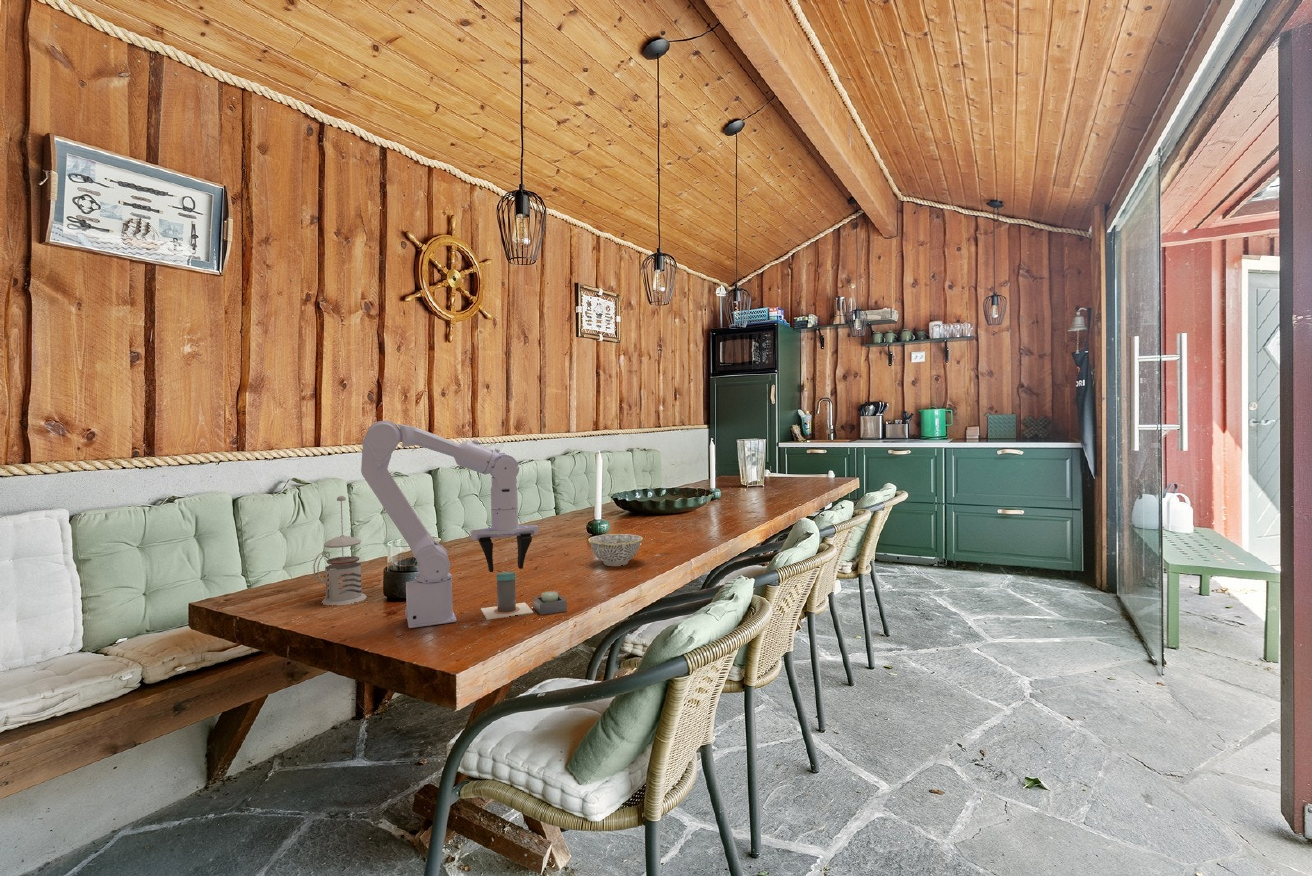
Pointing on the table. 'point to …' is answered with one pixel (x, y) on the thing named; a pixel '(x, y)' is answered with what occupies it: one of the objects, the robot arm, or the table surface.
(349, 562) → the french press
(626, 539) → the bowl
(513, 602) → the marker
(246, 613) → the table surface
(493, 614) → the paper
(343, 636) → the table surface
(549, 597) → the button
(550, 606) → the button base
